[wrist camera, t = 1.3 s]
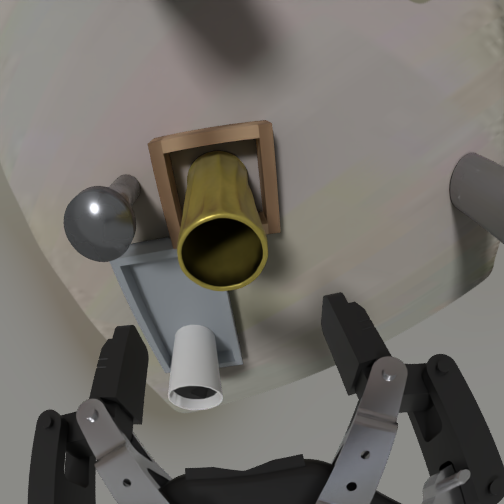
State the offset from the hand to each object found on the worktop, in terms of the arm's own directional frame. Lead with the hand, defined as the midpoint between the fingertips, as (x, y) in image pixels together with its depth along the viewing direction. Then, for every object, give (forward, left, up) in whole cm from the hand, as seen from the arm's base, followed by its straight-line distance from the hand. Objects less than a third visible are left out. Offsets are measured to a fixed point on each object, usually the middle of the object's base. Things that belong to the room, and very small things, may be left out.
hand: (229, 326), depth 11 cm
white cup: (+7, +22, -19) cm, 30 cm away
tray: (+7, +16, -20) cm, 26 cm away
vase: (0, 0, -20) cm, 20 cm away
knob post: (+9, -1, -20) cm, 22 cm away
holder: (0, 0, -20) cm, 20 cm away
